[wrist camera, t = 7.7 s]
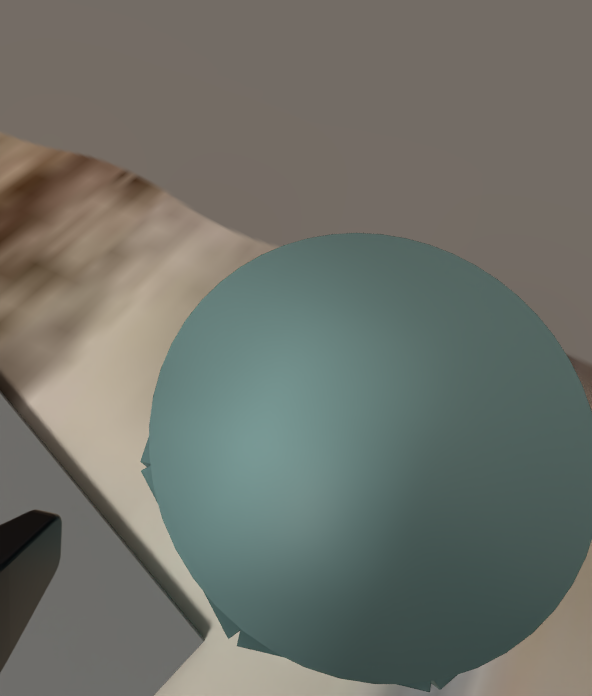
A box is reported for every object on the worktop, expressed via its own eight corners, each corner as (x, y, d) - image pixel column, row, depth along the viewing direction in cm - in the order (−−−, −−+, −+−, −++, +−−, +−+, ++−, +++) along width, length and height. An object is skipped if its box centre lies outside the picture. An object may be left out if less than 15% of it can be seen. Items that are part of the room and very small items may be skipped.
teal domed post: (394, 632, 16) (612, 743, 6) (189, 583, 16) (73, 614, 6) (417, 429, 19) (592, 278, 9) (242, 390, 19) (220, 198, 9)
